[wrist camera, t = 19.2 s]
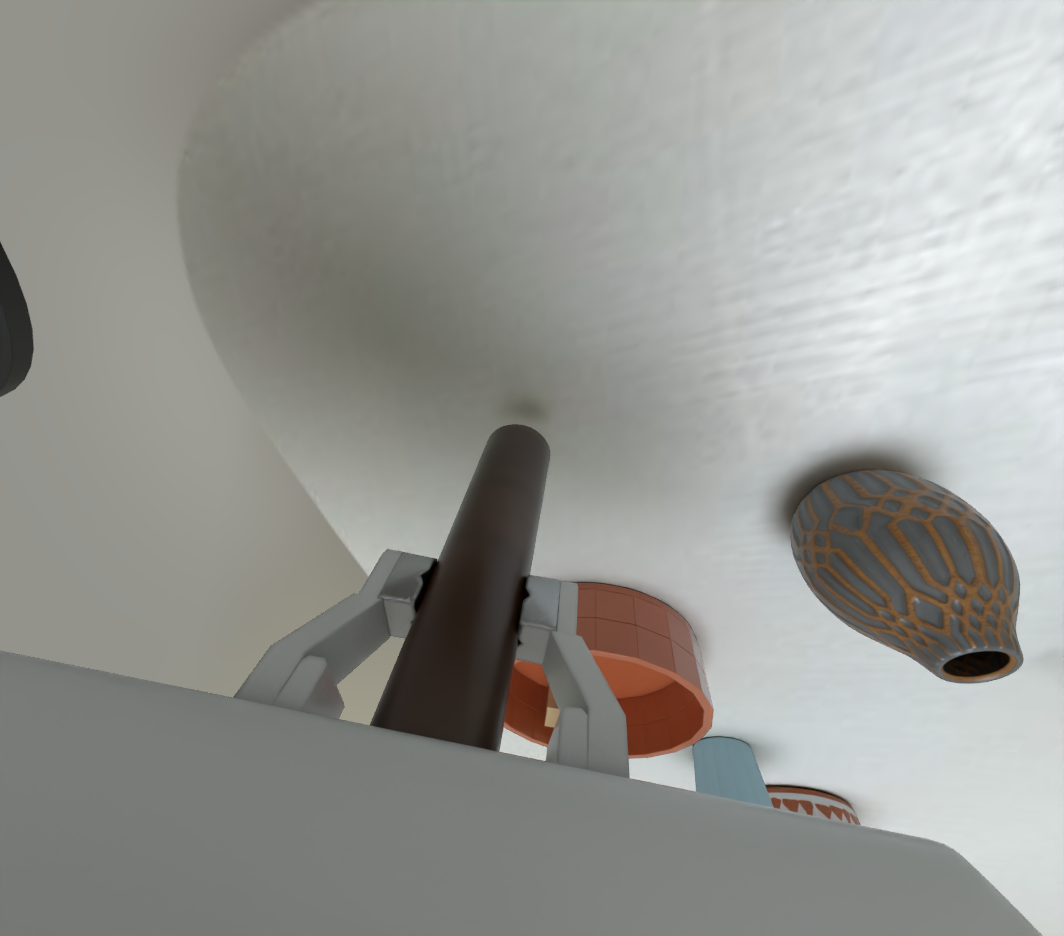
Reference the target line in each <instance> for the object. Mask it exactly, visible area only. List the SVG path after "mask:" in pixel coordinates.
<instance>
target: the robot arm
mask: <svg viewBox="0 0 1064 936" xmlns="http://www.w3.org/2000/svg"><path fill="white" fill-rule="evenodd" d="M436 564H437V559H435V558H430V557H425V556H420V555H415V554H411V553H406V552H401V551H396V550H390V549H387V550H386V551H385V552H384V553H383V554H382V556H381V557H380V559H379V561H378V562H377V564H376V566H375V567H374V569H373V571H372V572H371V574H370V576H369V577H368V579H367V581H366V582H365V584H364V586H363V587H362V589H361V591H360V592H359V594H352V595H350V596H349V597H347V598H346V599H344V600H342V601H341V602H339V603H338V604H336V605H334V606H333V607H331V608H330V609H328V610H327V611H325V612H323V613H322V614H321V615H319V616H317V617H316V618H314V619H312V620H311V621H309V622H307V623H306V624H304V625H303V626H301V627H300V628H298V629H296V630H295V631H293V632H292V633H290V634H288V635H287V636H285V637H284V638H282V639H281V640H279V641H277V642H276V643H274V644H273V645H271V646H270V647H269V649H268V650H267V652H266V653H265V654H264V656H263V657H262V659H261V660H260V661H259V663H258V664H257V665H256V667H255V668H254V669H253V671H252V672H251V674H250V675H249V676H248V678H247V679H246V681H245V682H244V683H243V685H242V686H241V687H240V689H239V690H238V692H237V693H236V694H235V696H234V697H233V698H232V697H227V696H222V695H218V694H213V693H208V692H203V691H198V690H193V689H188V688H183V687H178V686H173V685H168V684H163V683H159V682H154V681H148V680H143V679H139V678H134V677H129V676H124V675H119V674H114V673H109V672H104V671H99V670H94V669H90V668H84V667H80V666H75V665H70V664H64V663H60V662H55V661H50V660H45V659H40V658H35V657H30V656H25V655H20V654H15V653H10V652H5V651H0V936H1042V935H1041V933H1040V932H1039V931H1038V930H1037V929H1036V928H1035V927H1034V926H1033V925H1032V924H1031V923H1030V922H1029V921H1028V920H1027V919H1026V918H1025V917H1024V916H1023V915H1022V914H1021V913H1020V912H1019V911H1018V910H1017V909H1016V908H1015V907H1014V906H1013V905H1012V904H1011V903H1010V902H1009V901H1008V900H1007V899H1006V898H1005V897H1004V896H1003V895H1002V894H1001V893H1000V892H999V891H998V890H997V889H996V888H995V887H994V886H993V885H992V884H991V883H990V882H989V881H988V880H987V879H986V878H985V877H984V876H983V875H982V874H981V873H980V872H979V871H978V870H977V869H975V868H974V867H973V866H972V865H971V864H970V863H969V862H968V861H967V860H966V859H965V858H964V857H963V856H961V855H960V854H959V853H958V852H956V851H955V850H954V849H952V848H950V847H948V846H947V845H945V844H942V843H939V842H936V841H933V840H929V839H925V838H920V837H915V836H910V835H905V834H900V833H895V832H890V831H886V830H881V829H876V828H871V827H866V826H861V825H856V824H851V823H846V822H841V821H836V820H832V819H827V818H822V817H817V816H812V815H807V814H802V813H797V812H792V811H787V810H782V809H778V808H773V807H768V806H763V805H758V804H753V803H748V802H743V801H738V800H733V799H728V798H724V797H719V796H714V795H709V794H704V793H699V792H694V791H689V790H684V789H679V788H674V787H670V786H665V785H660V784H655V783H650V782H645V781H640V780H635V779H630V778H629V760H628V743H627V726H626V715H625V714H624V712H623V710H622V708H621V706H620V705H619V703H618V701H617V699H616V697H615V696H614V694H613V692H612V690H611V688H610V687H609V685H608V683H607V681H606V680H605V678H604V676H603V674H602V672H601V671H600V669H599V667H598V665H597V663H596V662H595V660H594V658H593V656H592V654H591V653H590V651H589V649H588V647H587V645H586V644H585V642H584V640H583V638H582V637H581V636H578V635H576V629H577V606H578V585H577V583H571V582H565V581H560V580H557V579H551V578H545V577H539V576H533V575H528V577H527V582H526V588H525V593H524V601H523V605H522V610H521V616H520V622H519V628H518V639H519V640H518V646H517V652H516V657H515V659H517V660H521V661H526V662H530V663H535V664H540V665H542V668H543V671H544V673H545V676H546V678H547V681H548V684H549V686H550V689H551V691H552V694H553V697H554V699H555V702H556V704H557V707H558V710H559V712H560V714H559V716H558V719H557V722H556V725H555V727H554V730H553V733H552V736H551V738H550V741H549V744H548V747H547V756H546V761H542V760H537V759H532V758H527V757H522V756H517V755H512V754H508V753H503V752H498V751H493V750H488V749H483V748H478V747H473V746H468V745H463V744H458V743H454V742H449V741H444V740H439V739H434V738H429V737H424V736H419V735H414V734H409V733H404V732H400V731H395V730H390V729H385V728H380V727H375V726H370V725H365V724H360V723H355V722H350V721H346V720H340V719H339V717H340V715H341V713H342V711H343V709H344V702H343V700H342V697H341V695H340V693H339V690H338V688H337V686H336V685H337V684H338V683H339V682H340V681H342V680H343V679H344V678H345V677H346V676H347V675H348V674H350V673H351V672H352V671H353V670H354V669H355V668H356V667H357V666H359V665H360V664H361V663H362V662H363V661H364V660H365V659H366V658H368V657H369V656H370V655H371V654H372V653H373V652H374V651H375V650H377V649H378V648H379V647H380V646H381V645H382V644H383V643H384V642H386V641H387V640H388V639H389V638H390V636H394V637H400V638H406V636H407V634H408V632H409V629H410V627H411V624H412V622H413V620H414V617H415V615H416V612H417V610H418V608H419V605H420V603H421V600H422V598H423V596H424V593H425V591H426V588H427V586H428V583H429V581H430V579H431V576H432V574H433V571H434V569H435V567H436Z"/></svg>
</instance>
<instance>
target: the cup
mask: <svg viewBox="0 0 1064 936" xmlns="http://www.w3.org/2000/svg"><path fill="white" fill-rule="evenodd" d="M693 756H694V770H695V782H696V792H699V793H704V794H709V795H714V796H719V797H724V798H728V799H733V800H738V801H743V802H748V803H753V804H758V805H763V806H768V807H773V805H772V802H771V799H770V797H769V794H768V791H767V789H766V786H765V784H764V781H763V778H762V776H761V773H760V770H759V768H758V765H757V762H756V760H755V757H754V755H753V752H752V750H751V748H750V746H749V745H748V744H746V743H744V742H742V741H740V740H736V739H732V738H724V737H714V738H706V739H702V740H700V741H698V742H697V743H695V744H694V746H693ZM773 808H774V807H773Z"/></svg>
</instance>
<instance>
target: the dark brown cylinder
mask: <svg viewBox="0 0 1064 936" xmlns="http://www.w3.org/2000/svg"><path fill="white" fill-rule="evenodd" d="M549 461H550V448H549V445H548V443H547V441H546V440H545V438H544V437H543V436H542V435H541V434H540V433H539V432H537V431H536V430H534V429H532V428H530V427H528V426H524V425H519V424H511V425H506V426H503V427H500V428H499V429H497V430H495V431H494V432H493V433H492V434H491V436H490V437H489V439H488V441H487V444H486V446H485V448H484V451H483V453H482V456H481V458H480V460H479V463H478V465H477V468H476V470H475V473H474V475H473V477H472V480H471V482H470V485H469V487H468V489H467V492H466V494H465V497H464V499H463V501H462V504H461V506H460V509H459V511H458V514H457V516H456V518H455V521H454V523H453V526H452V528H451V530H450V533H449V535H448V538H447V540H446V542H445V545H444V547H443V550H442V552H441V555H440V557H439V559H438V562H437V564H436V567H435V569H434V571H433V574H432V576H431V579H430V581H429V583H428V586H427V588H426V591H425V593H424V596H423V598H422V600H421V603H420V605H419V608H418V610H417V612H416V615H415V617H414V620H413V622H412V624H411V627H410V629H409V632H408V634H407V636H406V639H405V641H404V644H403V647H402V649H401V651H400V653H399V656H398V659H397V661H396V663H395V666H394V668H393V670H392V673H391V675H390V678H389V680H388V682H387V685H386V687H385V690H384V692H383V694H382V697H381V699H380V702H379V704H378V706H377V709H376V711H375V714H374V716H373V718H372V721H371V724H370V726H375V727H380V728H385V729H390V730H395V731H400V732H404V733H409V734H414V735H419V736H424V737H429V738H434V739H439V740H444V741H449V742H454V743H458V744H463V745H468V746H473V747H478V748H483V749H488V750H493V751H498V752H499V750H500V744H501V738H502V732H503V727H504V721H505V715H506V709H507V704H508V698H509V692H510V686H511V680H512V675H513V669H514V663H515V657H516V652H517V646H518V640H519V639H518V628H519V622H520V616H521V610H522V605H523V601H524V593H525V588H526V582H527V577H528V575H530V571H531V565H532V559H533V553H534V547H535V542H536V536H537V530H538V524H539V519H540V513H541V507H542V501H543V495H544V490H545V484H546V478H547V472H548V466H549Z"/></svg>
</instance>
